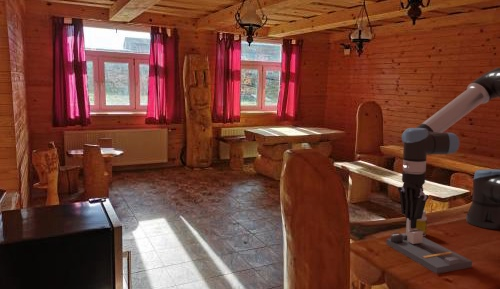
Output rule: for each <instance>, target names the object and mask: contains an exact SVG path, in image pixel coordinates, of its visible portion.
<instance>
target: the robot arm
mask: <svg viewBox="0 0 500 289" xmlns="http://www.w3.org/2000/svg"><path fill="white" fill-rule="evenodd" d="M498 98H500V66H499V67H496V68H494V69H491V70H489V71H488V72H485V73H484V74H482V75H480V76H479V77H478V78H476V79H474V80H473V81H472V82H471V83H469V84H468V85H467V87H466V90H464V91H462V93H460V94H459V95H458V96H456V97H455V98H454V99H453V100H451V101H449V103H447V104H446V105H444V106H442V108H440V109H439V110H438V111H437V112H435V113H434V114H433V115H431V116H430V117H429V118H427V119H425V120H424V121H423V122H422V123H421V124H419V125H418V126H416V127H408V128H406V129H405V130H404V131H403V132H402V134H401V141H402V144H403V152H402V153H403V155H402V171H403V172H401V174H402V176H401V182H402V183H403V184H402V186H399V187H397V190H398V193H399V199H400V200H399V201H400V210H401V214H402V215H404V216H405V233H406V236H407V233H408V230H412V229H415V228H416V223H417V219H421V218H422V215H423V211H424V210H425V208H426V202H427V200H428V199H429V195H428V194H426V193H425V192H424V187H423V185H424V184H425V183H426V171H427V157H428V156H429V155H448V154H455V153H456V152H457V151H458V150H459V148H460V139H459V137H458V135H457V134H455V133H454V132H446V131H447V130H448V129H449V128H451V127H452V126H453V125H455V124H456V123H457V122H458V121H460V120H461V119H462V118H464V117H465V116H466V115H468V114H469V113H470V112H472V111H473V110H474V109H476V108H477V107H478V106H480V105H481V104H482V105H484V104H487V103H488V102H490V101H491V100H494V99H498ZM472 180H473V181H472V182H473V183H472V197H471V198H472V199H471V200H472V201H471V205H470V207H469V209H468V211H467V213H466V216H465V221H466V222H467V223H468V224H470V225H472V226H476V227H478V228H479V227H480V228H482V229H483V228H484V229H490V230H500V169H499V168H497V169H496V168H494V169H493V168H484V169H476V170H475V172H474V176H473V179H472Z"/></svg>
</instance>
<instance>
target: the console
mask: <svg viewBox="0 0 500 289" xmlns="http://www.w3.org/2000/svg"><path fill="white" fill-rule="evenodd" d="M385 245H387V246H389V247H391V248H392V249H394V250H395V251H397V252H398V253H401V255H404V256H406V257H407V258H409V259H411V260H412V261H414V262H416V263H417V264H419V265H421V266H423V267H424V268H426V269H427V270H429V271H431V272H432V273H435V274H443V273H447V272H448V273H449V272H453V271H458V270H465V269H468V268H469V269H470V268H473V267H472V266H473V260H470V259H469V258H467V257H464V256H463V255H461V254H459V253H456V252H454V251H452V250H450V249H448V248H447V247H444V246H442V245H440V244H438V243H437V242H434V241H433V240H430V239H428V238H426V237H425V236H423V239H422V243H416V244H412V243H410V242H408V241H407V236H406V232H402V233H398V232H391V234H390V238H386V244H385Z"/></svg>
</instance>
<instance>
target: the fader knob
mask: <svg viewBox="0 0 500 289" xmlns="http://www.w3.org/2000/svg"><path fill="white" fill-rule="evenodd" d="M423 237H424V236H423V232H422V231H421V230H420V229H412V230H408V233H407V241H408V242H410V243H412V244H416V243H422V239H423Z"/></svg>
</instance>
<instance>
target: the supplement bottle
mask: <svg viewBox="0 0 500 289" xmlns="http://www.w3.org/2000/svg"><path fill="white" fill-rule="evenodd" d="M426 211H427V210H425V209H424V211H423V215H422V218H421V219H417V223H416V228H415V229H420V230H421V231H422V232H423V237H425V236H427V228H428V227H427V225H428V217H427V215H426V214H427V213H426Z"/></svg>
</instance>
